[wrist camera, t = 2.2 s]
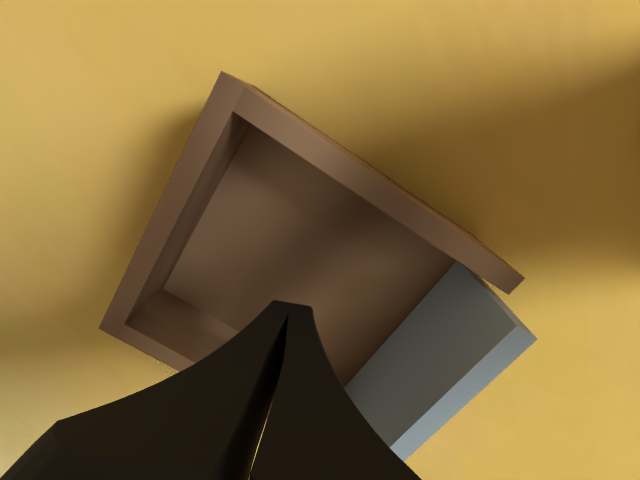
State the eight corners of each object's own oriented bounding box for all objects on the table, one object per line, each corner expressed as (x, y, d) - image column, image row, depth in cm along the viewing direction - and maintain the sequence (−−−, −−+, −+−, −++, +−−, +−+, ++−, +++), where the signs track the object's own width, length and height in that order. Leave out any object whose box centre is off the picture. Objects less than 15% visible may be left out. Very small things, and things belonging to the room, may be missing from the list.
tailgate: (472, 268, 14) (538, 339, 10) (356, 395, 17) (362, 498, 12) (457, 259, 14) (517, 325, 9) (343, 388, 17) (345, 490, 12)
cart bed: (478, 240, 15) (525, 278, 11) (344, 391, 18) (345, 459, 15) (255, 86, 13) (221, 70, 10) (152, 282, 17) (98, 328, 13)
